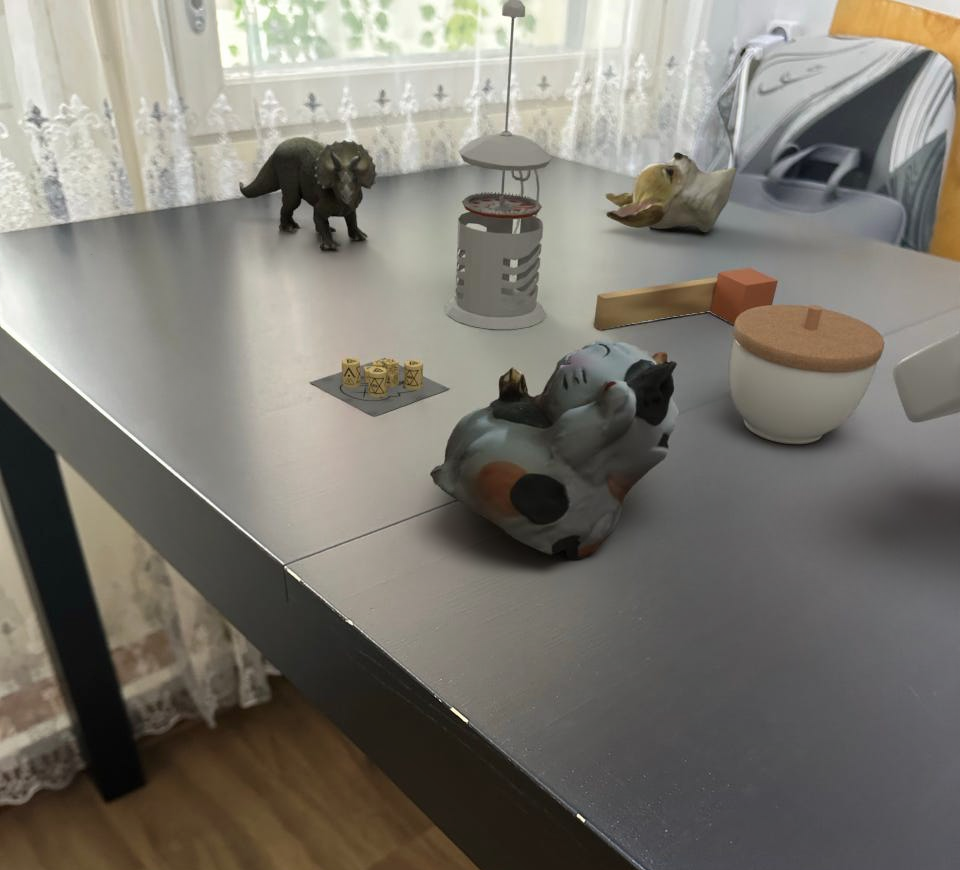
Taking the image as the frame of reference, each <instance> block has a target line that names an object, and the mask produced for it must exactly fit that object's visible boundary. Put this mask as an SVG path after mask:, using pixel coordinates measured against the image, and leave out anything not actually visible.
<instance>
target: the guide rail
mask: <svg viewBox="0 0 960 870" xmlns="http://www.w3.org/2000/svg"><path fill="white" fill-rule="evenodd" d="M717 278H718V276H715V277H713V276H712V277H707V278H699V279H694V280H686V281H680V282H674V283H673V282H672V283H666V284H660V285H652V286H646V287H639V288H632V289H625V290H618V291H611V292H606V293H605V292H604V293H598V294H597V295H596V296H597V297H596V305H595V312H594V319H593V320H594V321H593V327H595V328H596V329H597V330H599V329H600V331H604V330H603V329H605V330H609V329H608V328H611V329H613V328H612V327H617V328H619V327H618V326H623V325H627V324H632V323H638V322H642V321H648V320H655V319H660V318H667V317H673V316H680V315H686V314H692V313H700V312H707V311H711V307H712V303H713V298H714V293H715V288H716V283H717ZM623 327H624V326H623Z"/></svg>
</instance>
